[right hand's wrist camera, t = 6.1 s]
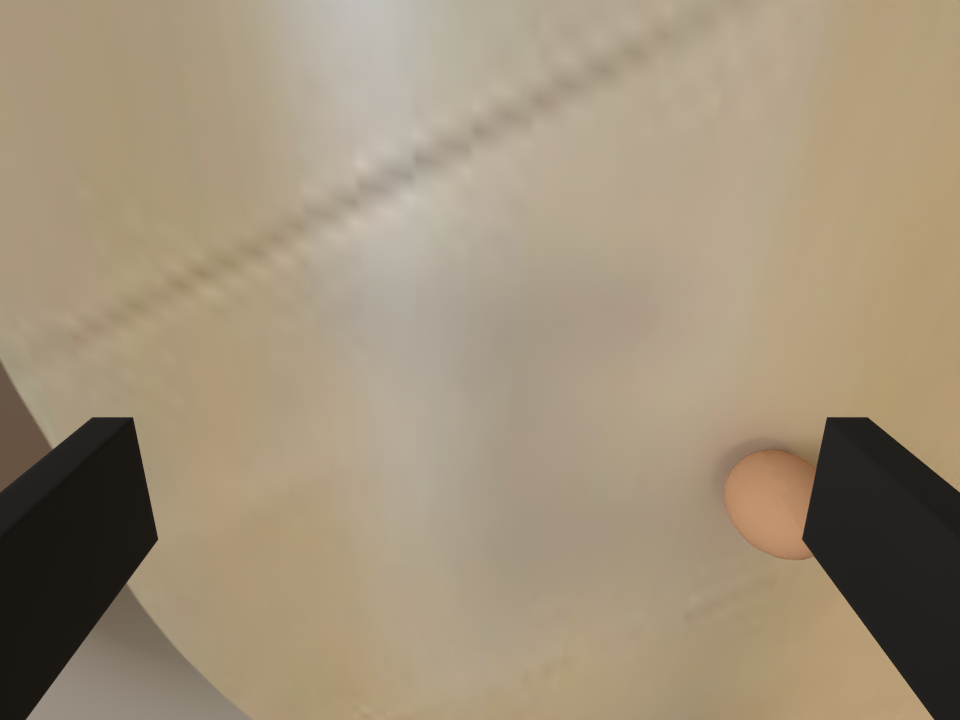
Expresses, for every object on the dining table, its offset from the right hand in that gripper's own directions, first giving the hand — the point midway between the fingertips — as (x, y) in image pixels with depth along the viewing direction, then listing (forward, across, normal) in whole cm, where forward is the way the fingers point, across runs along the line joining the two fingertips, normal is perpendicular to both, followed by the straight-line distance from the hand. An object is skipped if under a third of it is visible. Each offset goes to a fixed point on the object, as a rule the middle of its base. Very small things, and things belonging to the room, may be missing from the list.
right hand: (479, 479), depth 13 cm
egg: (+28, -18, +16) cm, 37 cm away
